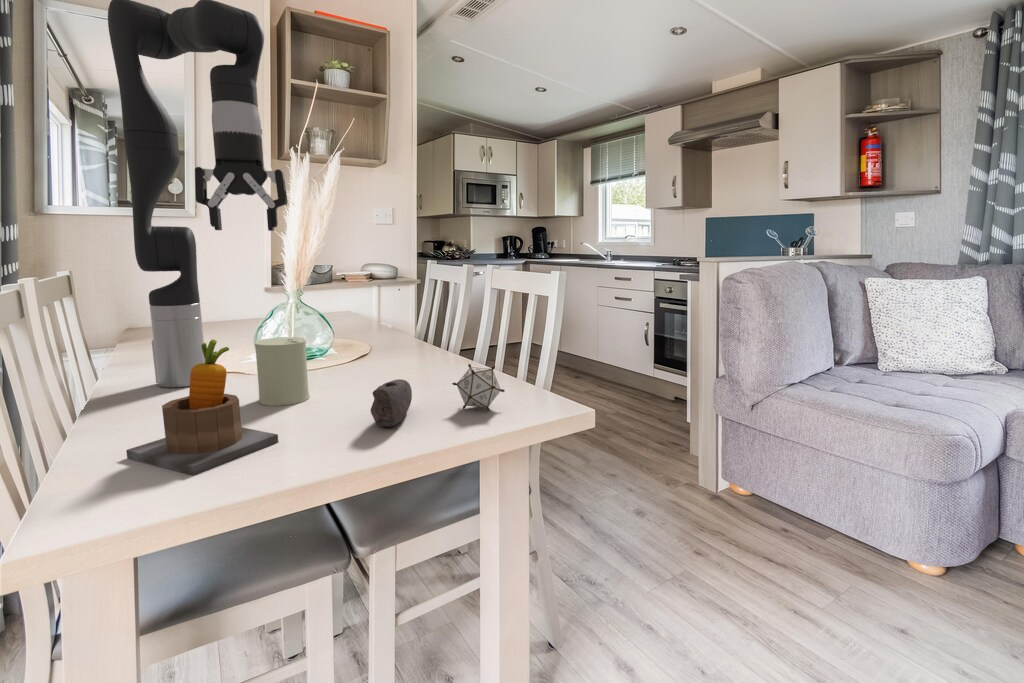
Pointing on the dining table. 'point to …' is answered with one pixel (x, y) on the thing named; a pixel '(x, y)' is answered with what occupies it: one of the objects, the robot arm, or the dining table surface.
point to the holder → (201, 437)
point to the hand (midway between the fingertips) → (245, 230)
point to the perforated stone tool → (391, 402)
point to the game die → (478, 387)
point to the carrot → (208, 379)
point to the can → (282, 371)
